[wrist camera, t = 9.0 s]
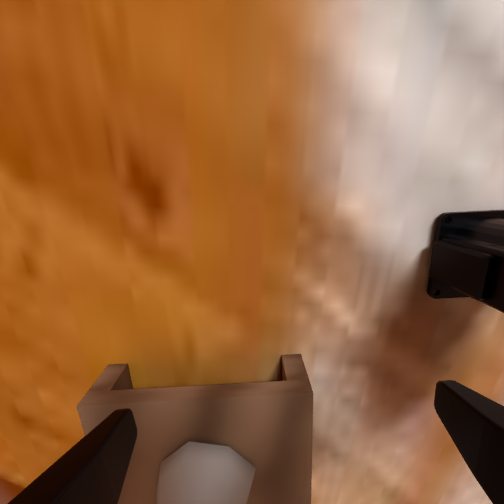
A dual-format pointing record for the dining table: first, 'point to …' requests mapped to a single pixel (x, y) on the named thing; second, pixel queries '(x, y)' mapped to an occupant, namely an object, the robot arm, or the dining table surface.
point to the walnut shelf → (215, 428)
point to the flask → (204, 476)
